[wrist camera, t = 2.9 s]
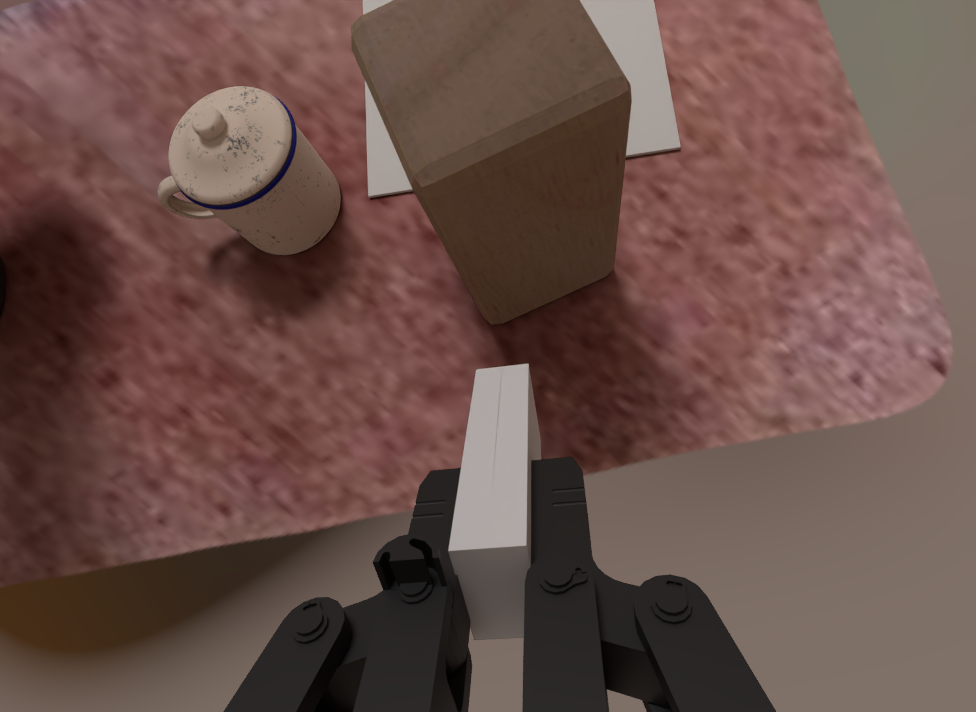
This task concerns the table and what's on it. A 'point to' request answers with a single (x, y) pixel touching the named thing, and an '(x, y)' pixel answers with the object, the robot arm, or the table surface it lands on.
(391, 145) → the mat
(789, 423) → the table surface
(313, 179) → the teacup with lid
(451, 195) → the block
